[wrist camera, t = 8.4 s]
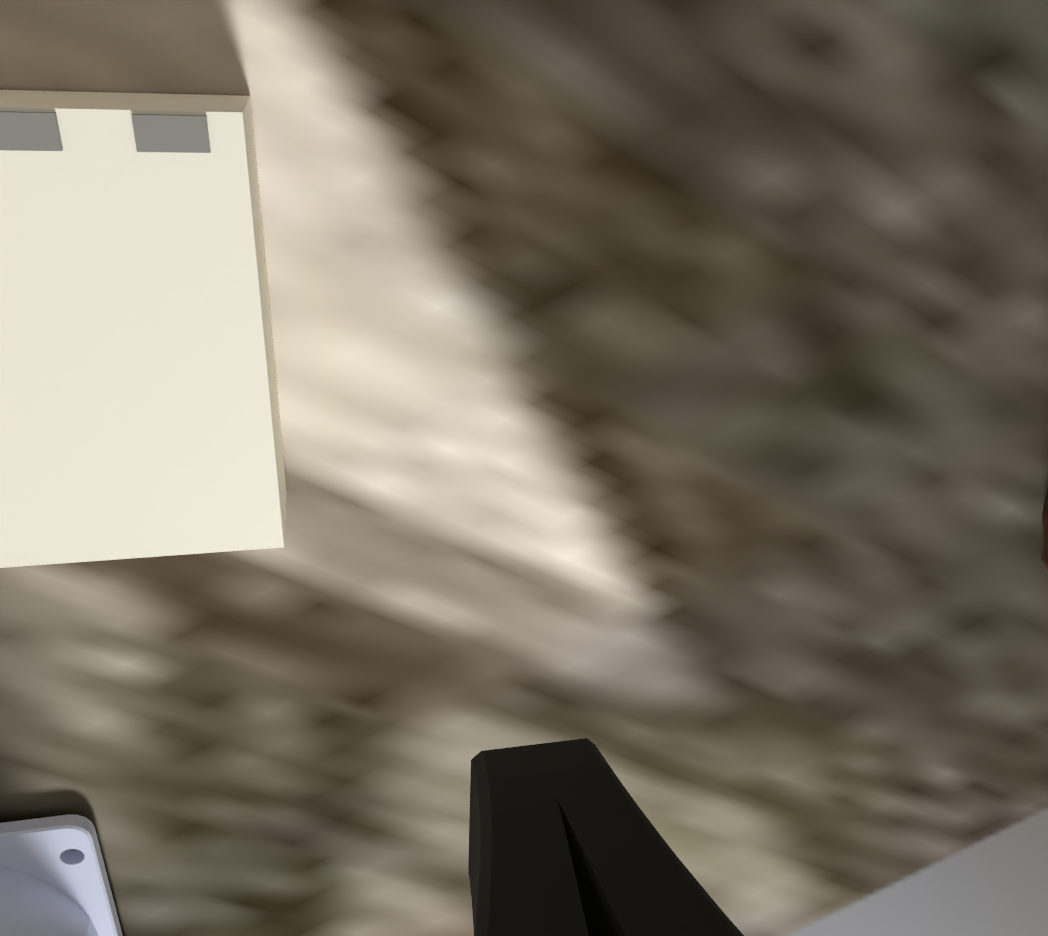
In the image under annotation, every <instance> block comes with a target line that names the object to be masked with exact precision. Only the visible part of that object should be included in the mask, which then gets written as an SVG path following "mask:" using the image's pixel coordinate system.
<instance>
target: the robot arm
mask: <svg viewBox="0 0 1048 936" xmlns="http://www.w3.org/2000/svg"><path fill="white" fill-rule="evenodd" d="M70 849H77V850H70ZM469 877H470V886H471V896H472V909H473V924H474V936H744V935H743V934H742V933H741V932H740V931H739V930H738V929H737V927H736V926H735V925H734V924H733V923H732V922H731V921H730V919H729V918H728V917H727V916H726V915H725V914H724V912H723V911H722V910H721V909H720V908H719V907H718V905H717V904H716V903H715V902H714V901H713V899H712V898H711V897H710V896H709V895H708V893H707V892H706V891H705V890H704V889H703V887H702V886H701V885H700V884H699V883H698V881H697V880H696V879H695V878H694V877H693V875H692V874H691V873H690V872H689V871H688V869H687V868H686V867H685V866H684V865H683V863H682V862H681V861H680V860H679V858H678V857H677V856H676V855H675V853H674V852H673V851H672V850H671V848H670V847H669V846H668V845H667V843H666V842H665V841H664V839H663V838H662V837H661V836H660V834H659V833H658V832H657V830H656V829H655V828H654V826H653V825H652V824H651V822H650V821H649V820H648V818H647V817H646V816H645V815H644V813H643V812H642V811H641V809H640V808H639V807H638V805H637V804H636V803H635V801H634V800H633V798H632V797H631V796H630V794H629V793H628V792H627V790H626V789H625V787H624V786H623V785H622V783H621V782H620V780H619V779H618V778H617V776H616V775H615V773H614V772H613V770H612V769H611V768H610V766H609V765H608V763H607V762H606V760H605V759H604V757H603V756H602V754H601V753H600V752H599V750H598V749H597V747H596V746H595V744H593V743H592V742H591V741H590V740H588V739H587V738H585V739H577V740H569V741H561V742H552V743H544V744H536V745H527V746H519V747H511V748H503V749H494V750H486V751H481V752H480V753H479V754H477V755H476V756H475V757H474V758H473V759H472V760H471V787H470V828H469ZM0 936H123V934H122V931H121V927H120V923H119V919H118V915H117V911H116V907H115V904H114V900H113V896H112V892H111V888H110V884H109V881H108V877H107V873H106V869H105V865H104V861H103V857H102V854H101V850H100V846H99V842H98V838H97V834H96V830H95V827H94V825H93V823H92V822H91V821H90V820H89V819H87V818H86V817H84V816H80V815H60V816H52V817H44V818H36V819H28V820H20V821H12V822H4V823H0Z"/></svg>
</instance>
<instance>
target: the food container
mask: <svg viewBox="0 0 1048 936" xmlns="http://www.w3.org/2000/svg"><path fill="white" fill-rule="evenodd" d="M1042 560H1043V563H1044V565H1045V567H1046V570H1047V572H1048V499H1047V502H1046V505H1045V508H1044V511H1043V534H1042Z"/></svg>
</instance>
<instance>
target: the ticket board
mask: <svg viewBox="0 0 1048 936" xmlns="http://www.w3.org/2000/svg"><path fill="white" fill-rule="evenodd" d="M286 494H287V493H286V482H285V471H284V460H283V449H282V438H281V427H280V416H279V405H278V394H277V383H276V372H275V361H274V350H273V339H272V328H271V317H270V306H269V295H268V284H267V273H266V262H265V251H264V240H263V229H262V218H261V207H260V196H259V185H258V174H257V163H256V152H255V141H254V130H253V119H252V108H251V98H250V96H240V95H199V94H158V93H116V92H75V91H33V90H0V568H4V567H18V566H32V565H46V564H60V563H73V562H87V561H101V560H115V559H129V558H143V557H156V556H170V555H184V554H198V553H212V552H226V551H240V550H253V549H267V548H281V547H284V538H285V516H286Z"/></svg>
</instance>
